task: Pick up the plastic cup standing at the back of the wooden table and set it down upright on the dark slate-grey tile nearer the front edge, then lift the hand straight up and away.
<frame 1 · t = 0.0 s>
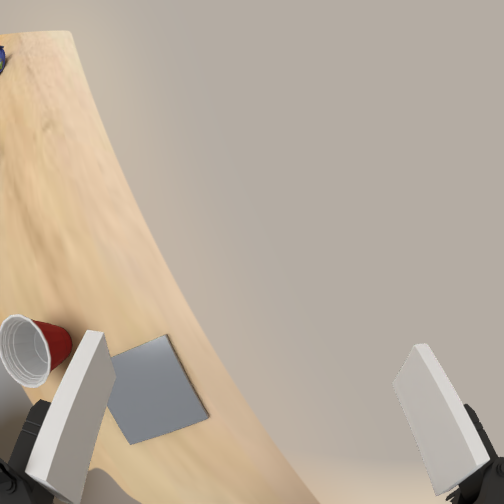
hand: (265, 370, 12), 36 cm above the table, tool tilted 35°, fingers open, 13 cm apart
slate tile: (147, 392, 44), on the table
plastic cup: (59, 343, 44), on the table
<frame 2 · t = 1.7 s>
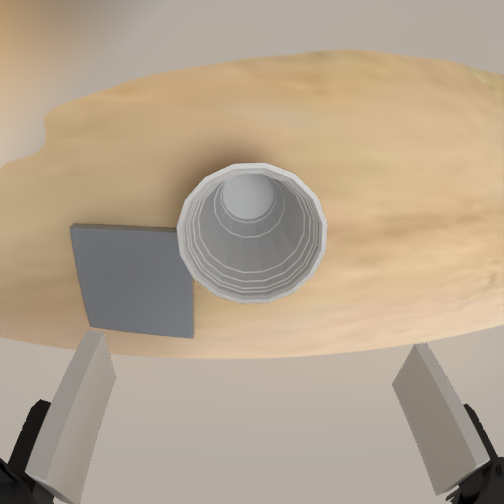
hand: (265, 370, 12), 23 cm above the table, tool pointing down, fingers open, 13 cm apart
slate tile: (134, 282, 36), on the table
plastic cup: (246, 192, 32), on the table
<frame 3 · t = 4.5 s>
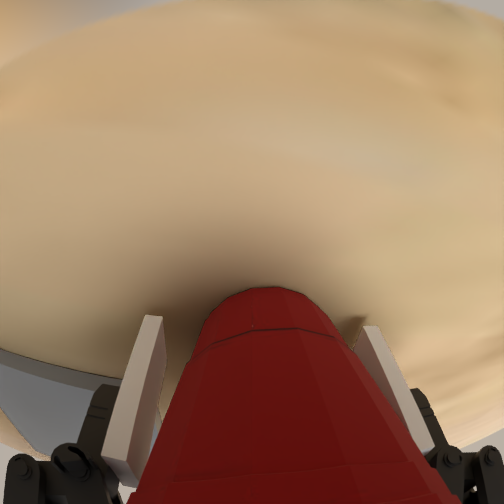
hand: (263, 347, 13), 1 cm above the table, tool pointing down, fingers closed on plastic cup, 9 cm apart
slate tile: (76, 424, 18), on the table
plastic cup: (262, 331, 14), on the table, touching gripper
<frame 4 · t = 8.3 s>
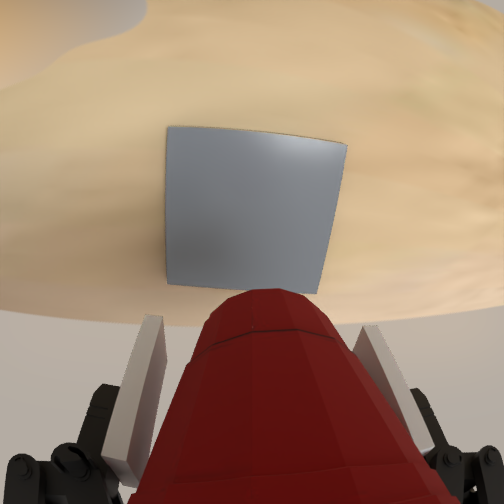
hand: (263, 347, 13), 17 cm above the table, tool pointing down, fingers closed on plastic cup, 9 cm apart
slate tile: (250, 213, 28), on the table
plastic cup: (262, 332, 14), point 16 cm above the table, touching gripper
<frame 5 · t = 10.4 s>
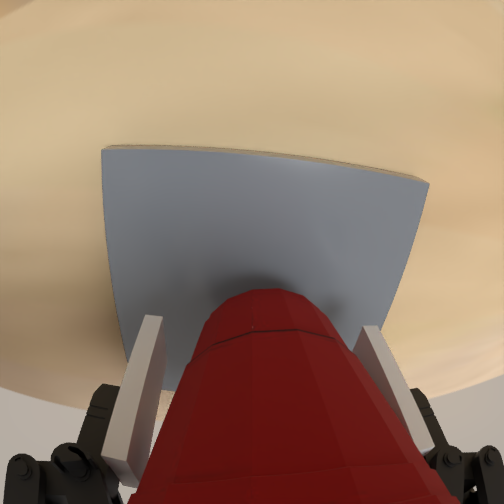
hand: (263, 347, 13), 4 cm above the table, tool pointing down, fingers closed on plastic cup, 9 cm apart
slate tile: (256, 294, 17), on the table
plastic cup: (262, 332, 14), point 3 cm above the table, touching gripper
when the fingers open (3 cm above the table, at t = 11.7 s): plastic cup stays where it is, resting on slate tile.
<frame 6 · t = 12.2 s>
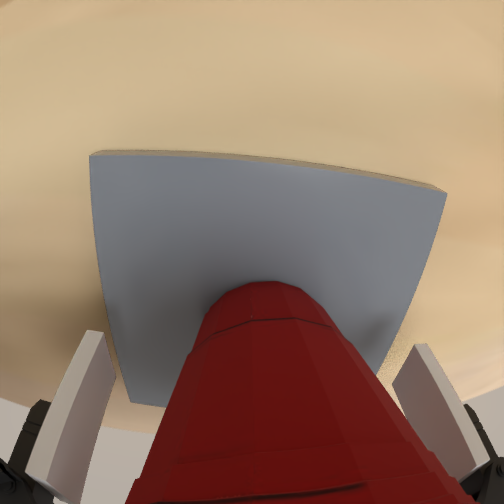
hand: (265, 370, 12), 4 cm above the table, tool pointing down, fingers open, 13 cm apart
slate tile: (259, 311, 15), on the table
plastic cup: (260, 325, 14), point 1 cm above the table, touching slate tile
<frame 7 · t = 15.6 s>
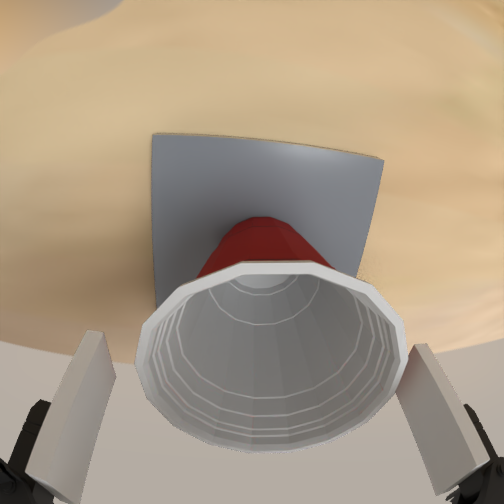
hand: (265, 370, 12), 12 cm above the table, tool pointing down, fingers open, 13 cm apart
slate tile: (259, 244, 22), on the table
plastic cup: (259, 250, 21), point 1 cm above the table, touching slate tile
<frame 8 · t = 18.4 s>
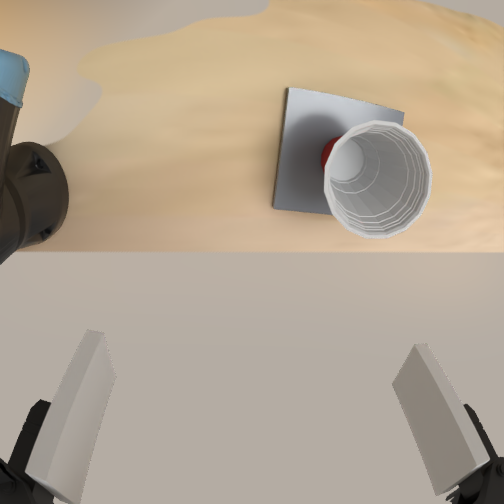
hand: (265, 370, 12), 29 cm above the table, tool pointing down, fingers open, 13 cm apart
slate tile: (339, 156, 36), on the table
plastic cup: (341, 157, 35), point 1 cm above the table, touching slate tile
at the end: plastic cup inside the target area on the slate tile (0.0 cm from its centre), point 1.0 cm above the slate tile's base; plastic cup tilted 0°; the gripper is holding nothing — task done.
